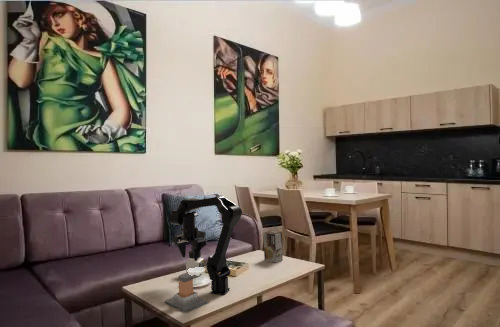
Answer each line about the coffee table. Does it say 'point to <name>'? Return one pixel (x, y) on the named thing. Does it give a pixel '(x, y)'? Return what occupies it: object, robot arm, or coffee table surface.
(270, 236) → the coffee box
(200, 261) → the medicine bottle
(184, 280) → the orange block
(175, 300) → the collar
